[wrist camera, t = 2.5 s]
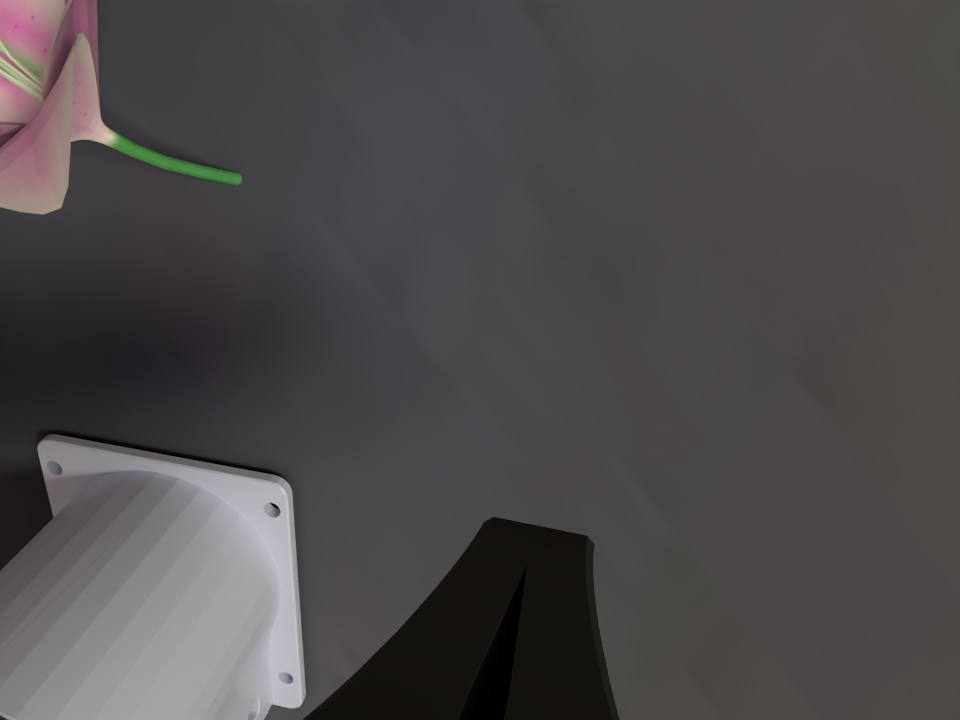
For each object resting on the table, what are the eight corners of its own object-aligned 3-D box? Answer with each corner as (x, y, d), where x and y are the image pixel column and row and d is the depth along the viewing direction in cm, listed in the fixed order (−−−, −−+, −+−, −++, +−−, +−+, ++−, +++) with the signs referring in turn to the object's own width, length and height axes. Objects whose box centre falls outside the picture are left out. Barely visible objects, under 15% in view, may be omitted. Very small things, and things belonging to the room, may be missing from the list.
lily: (469, -166, 18) (15, -571, 10) (405, 407, 19) (-38, 477, 11) (87, -110, 24) (-398, -334, 16) (60, 326, 25) (-398, 332, 17)
